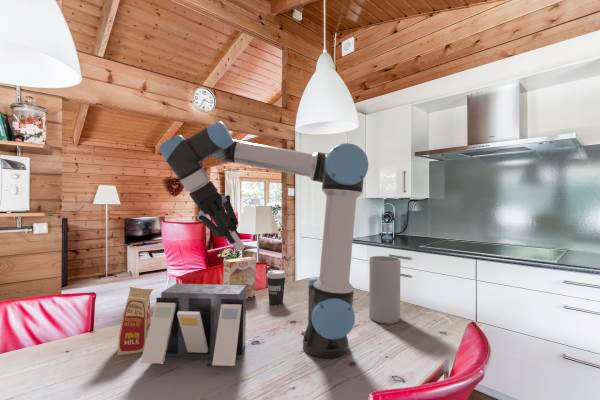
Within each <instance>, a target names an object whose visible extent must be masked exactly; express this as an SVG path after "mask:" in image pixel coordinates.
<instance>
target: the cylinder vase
mask: <svg viewBox="0 0 600 400" xmlns="http://www.w3.org/2000/svg"><path fill="white" fill-rule="evenodd" d="M401 263H402V262H401V258H398V257H396V256H385V255H375V256H374V255H373V256H369V265H368V267H369V271H368V272H369V273H368V274H369V275H368V276H369V277H368V279H369V280H368V285H369V286H368V288H369V289H368V290H369V291H368V296H369V298H368V316H369V318H370V319H371V320H372V321H374V322H376V323H379V324H387V325H390V324H392V325H393V324H397V323H398V322H400V321H401V268H402V267H401V266H402V265H401Z"/></svg>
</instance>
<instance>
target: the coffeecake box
mask: <svg viewBox="0 0 600 400" xmlns="http://www.w3.org/2000/svg"><path fill="white" fill-rule="evenodd" d="M256 266H257V259H256V258H254V257H252V256H245V257H239V258H238V257H237V258H229V259H224V260H223V282H222V285H246V298H247V297H251V298H253V297H252V296H255V297H256V283H257V280H256V276H257V275H256V273H257V267H256ZM247 299H248V298H247Z"/></svg>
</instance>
